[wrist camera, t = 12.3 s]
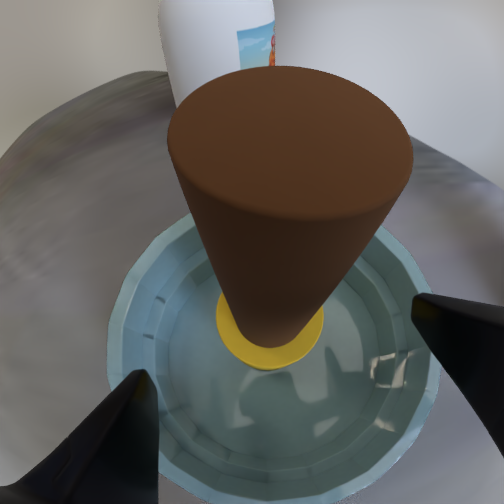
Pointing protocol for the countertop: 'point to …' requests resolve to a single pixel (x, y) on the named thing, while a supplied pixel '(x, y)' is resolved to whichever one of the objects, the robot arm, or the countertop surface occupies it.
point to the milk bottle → (214, 39)
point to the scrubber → (284, 196)
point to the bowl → (276, 378)
